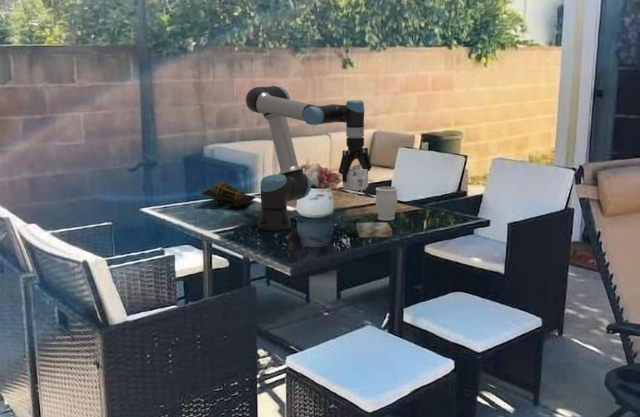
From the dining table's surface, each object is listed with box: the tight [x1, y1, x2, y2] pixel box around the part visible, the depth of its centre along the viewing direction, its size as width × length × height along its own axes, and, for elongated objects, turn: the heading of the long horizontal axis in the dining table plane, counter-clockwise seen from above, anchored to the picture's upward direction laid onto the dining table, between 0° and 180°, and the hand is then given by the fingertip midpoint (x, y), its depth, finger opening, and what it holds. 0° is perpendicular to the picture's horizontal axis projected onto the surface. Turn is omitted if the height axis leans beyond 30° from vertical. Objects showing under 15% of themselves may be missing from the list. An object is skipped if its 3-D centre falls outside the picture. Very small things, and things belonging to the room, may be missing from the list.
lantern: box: [198, 179, 257, 208], centre depth 354 cm, size 14×23×30 cm
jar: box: [374, 186, 398, 222], centre depth 320 cm, size 11×10×15 cm
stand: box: [356, 221, 393, 238], centre depth 295 cm, size 14×14×3 cm
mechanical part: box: [348, 164, 369, 194], centre depth 289 cm, size 11×12×12 cm
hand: (355, 187), depth 290 cm, fingers closed on mechanical part, 11 cm apart
